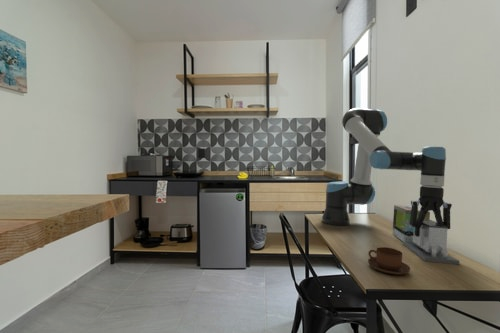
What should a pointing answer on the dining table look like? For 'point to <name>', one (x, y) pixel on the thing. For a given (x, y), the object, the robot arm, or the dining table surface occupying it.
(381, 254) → the cup and saucer
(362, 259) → the dining table surface
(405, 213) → the tea box
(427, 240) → the block
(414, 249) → the pin tray
